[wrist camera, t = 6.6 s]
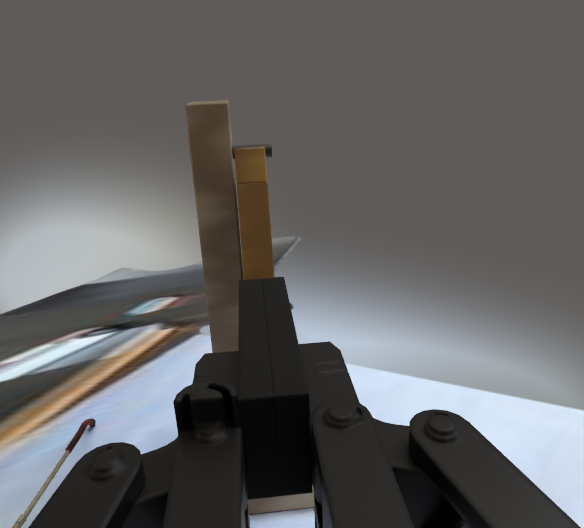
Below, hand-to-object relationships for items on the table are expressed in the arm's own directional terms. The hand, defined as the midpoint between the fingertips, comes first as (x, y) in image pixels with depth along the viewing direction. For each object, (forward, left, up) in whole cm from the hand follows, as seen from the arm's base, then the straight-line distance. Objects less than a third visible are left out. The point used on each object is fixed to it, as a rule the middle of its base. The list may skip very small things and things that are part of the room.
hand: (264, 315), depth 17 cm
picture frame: (-9, +6, -9) cm, 15 cm away
